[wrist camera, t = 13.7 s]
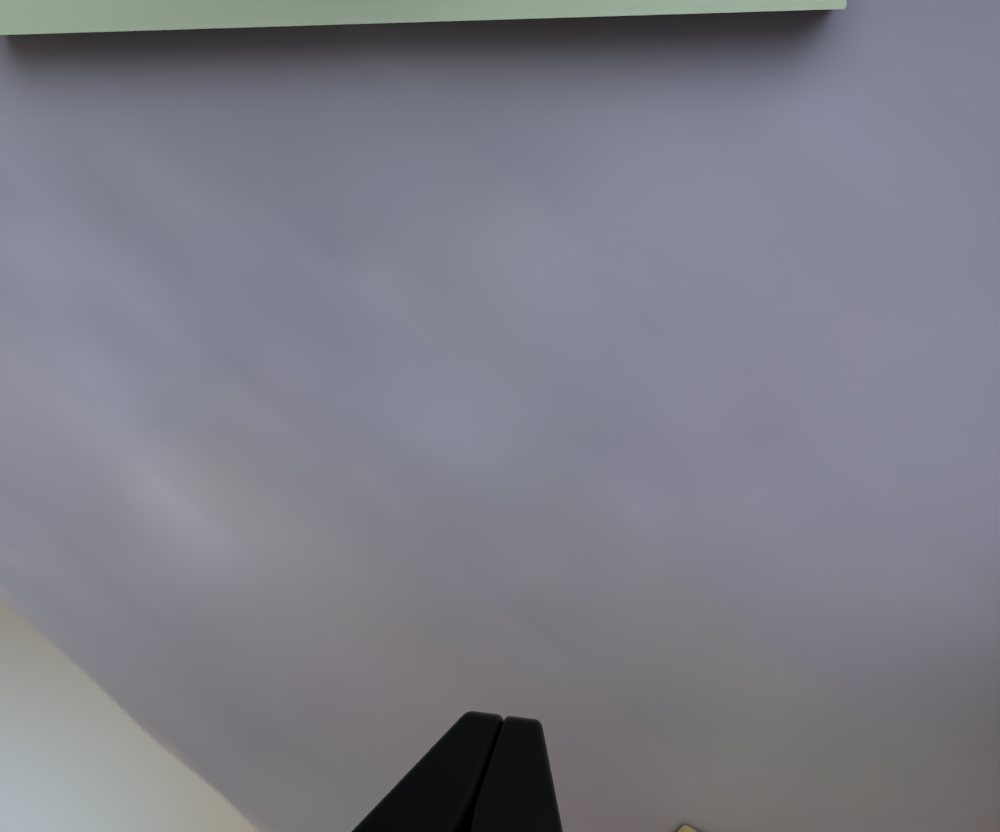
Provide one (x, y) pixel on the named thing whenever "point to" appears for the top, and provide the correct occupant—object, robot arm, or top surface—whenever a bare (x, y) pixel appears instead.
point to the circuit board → (339, 12)
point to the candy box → (686, 829)
